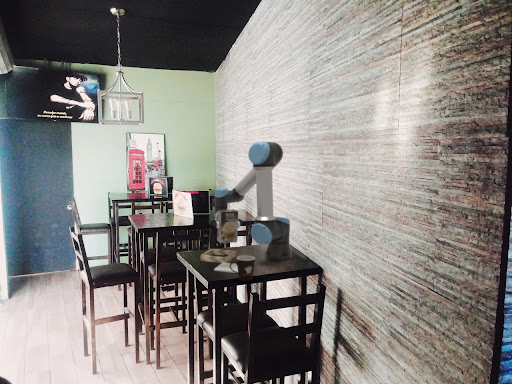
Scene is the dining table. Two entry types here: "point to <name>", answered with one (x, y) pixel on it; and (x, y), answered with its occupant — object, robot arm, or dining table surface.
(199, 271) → the dining table surface
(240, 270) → the coffee mug
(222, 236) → the coffee box
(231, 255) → the pocket frame
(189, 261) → the dining table surface
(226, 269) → the white napkin
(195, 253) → the dining table surface
